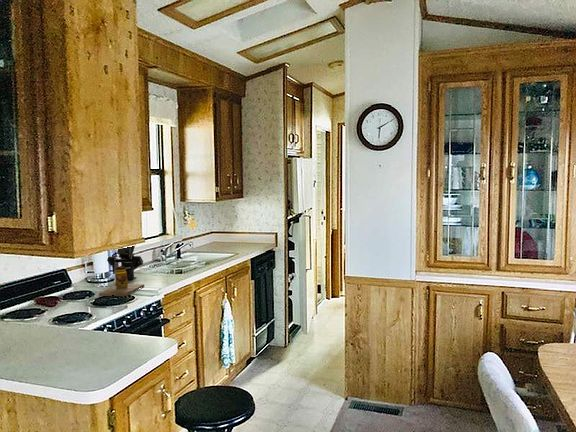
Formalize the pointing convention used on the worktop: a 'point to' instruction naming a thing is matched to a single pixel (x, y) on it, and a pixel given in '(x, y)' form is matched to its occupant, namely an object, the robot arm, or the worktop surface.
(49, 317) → the worktop surface
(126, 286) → the yellow black cylinder
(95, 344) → the worktop surface
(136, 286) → the walnut board
